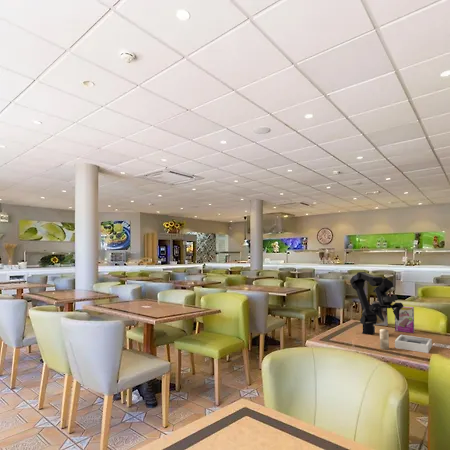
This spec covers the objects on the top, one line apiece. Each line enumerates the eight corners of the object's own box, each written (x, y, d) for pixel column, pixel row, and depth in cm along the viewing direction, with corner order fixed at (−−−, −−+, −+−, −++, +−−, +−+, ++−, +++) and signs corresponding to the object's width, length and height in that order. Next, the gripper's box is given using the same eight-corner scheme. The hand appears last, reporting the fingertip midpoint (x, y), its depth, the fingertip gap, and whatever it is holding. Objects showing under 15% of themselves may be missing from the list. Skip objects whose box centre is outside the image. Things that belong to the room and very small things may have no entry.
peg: (379, 348, 192) (378, 330, 193) (381, 346, 196) (380, 328, 196) (387, 350, 190) (387, 331, 190) (389, 348, 193) (389, 329, 194)
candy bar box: (394, 331, 231) (394, 306, 232) (395, 329, 235) (395, 305, 236) (414, 333, 225) (413, 307, 226) (414, 331, 229) (413, 306, 230)
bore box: (395, 347, 194) (394, 340, 194) (400, 341, 206) (400, 334, 207) (428, 353, 184) (427, 345, 184) (431, 346, 197) (431, 338, 197)
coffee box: (386, 323, 253) (386, 301, 254) (387, 325, 247) (387, 302, 248) (373, 323, 256) (372, 300, 257) (374, 324, 250) (373, 302, 250)
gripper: (373, 290, 203) (382, 315, 194) (403, 289, 205) (413, 314, 196) (365, 298, 212) (373, 323, 202) (393, 297, 214) (403, 322, 205)
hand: (391, 320), depth 201 cm, fingers open, 9 cm apart
